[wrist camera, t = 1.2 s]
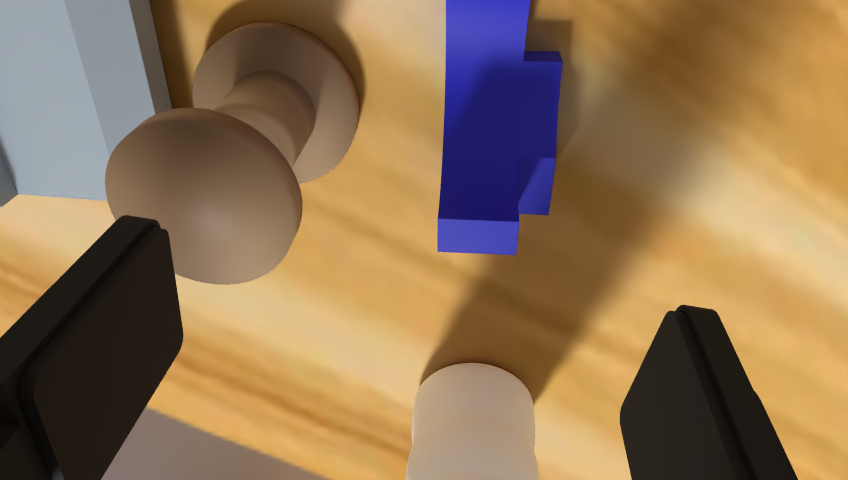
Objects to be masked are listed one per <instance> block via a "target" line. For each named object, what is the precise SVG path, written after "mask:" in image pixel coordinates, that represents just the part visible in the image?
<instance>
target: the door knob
mask: <svg viewBox="0 0 848 480" xmlns="http://www.w3.org/2000/svg"><path fill="white" fill-rule="evenodd" d="M192 98H193V106H194V108H177V109H170V110H167V111H163V112H160V113H158V114H156V115H153V116H151V117H149V118H148V119H147V120H145V121H144V122H142V123H141V124H140V125H138V126H137V127H136V128H135V129H134V130H133V131H131V132H130V133H129V134H128V135H127V136H125V137H124V138H123V139H122V140H121V141H120V142H119V143H118V145H117V146H116V147H115V149H114V150H113V152H112V154H111V156H110V158H109V160H108V163H107V167H106V172H105V190H106V196H107V200H108V204H109V206H110V209H111V212H112V214H113V216H114V218H115V220H117V219H118V218H120V217H121V216H123V215H130V216H136V217H142V218H149V219H155V220H157V221H158V222H159V224H160V227H161V228H162V229H166V230H167V231H168V234H169V238H170V245H171V252H172V259H173V266H174V273H176V274H178V275H180V276H183V277H186V278H189V279H192V280H195V281H199V282H204V283H211V284H226V285H227V284H239V283H244V282H248V281H251V280H254V279H257V278H259V277H261V276H263V275H265V274H267V273H268V272H270V271H271V270H273V269H274V268H275V267H276V266H277V265H278V264H279V263H280V262H281V261H282V260H283V258H284V257H285V256H286V254H287V252H288V250H289V248H290V246H291V244H292V242H293V240H294V238H295V235H296V233H297V231H298V229H299V226H300V222H301V217H302V196H301V190H300V187H299V183H305V182H309V181H312V180H315V179H317V178H320V177H321V176H323V175H325V174H327V173H328V172H330V171H331V170H332V169H334V168H335V167H336V166H337V165H338V164H339V163H340V162H341V160H342V159H343V158H344V156H345V155H346V153H347V151H348V149H349V147H350V145H351V143H352V140H353V138H354V135H355V133H356V130H357V126H358V120H359V101H358V95H357V91H356V87H355V85H354V82H353V79H352V77H351V75H350V73H349V71H348V69H347V68H346V66H345V65H344V63H343V62H342V60H341V59H340V58H339V57H338V55H337V54H336V53H335V52H334V51H333V50H332V49H331V48H330V47H329V46H328V45H327V44H326V43H324V42H323V41H322V40H320V39H319V38H317V37H316V36H315V35H313V34H311V33H309V32H307V31H306V30H303V29H301V28H298V27H296V26H293V25H289V24H285V23H280V22H272V21H266V22H255V23H249V24H246V25H243V26H240V27H238V28H236V29H234V30H232V31H230V32H229V33H227V34H226V35H225V36H223V37H222V38H221V39H219V40H218V41H217V42H215V43H214V44H213V45H212V46H211V47H210V48H209V49H208V50H207V51H206V53H205V54H204V55H203V57H202V58H201V60H200V62H199V64H198V66H197V69H196V72H195V75H194V80H193V86H192Z"/></svg>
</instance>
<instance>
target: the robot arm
mask: <svg viewBox="0 0 848 480" xmlns="http://www.w3.org/2000/svg"><path fill="white" fill-rule="evenodd" d="M182 342H183V328H182V321H181V314H180V307H179V300H178V293H177V287H176V280H175V273H174V266H173V259H172V252H171V245H170V238H169V234H168V231H167V230H166V229H162V228H161V227H160V224H159V222H158V221H157V220H155V219H149V218H142V217H136V216H130V215H123V216H121V217H120V218H118V219H117V220H116V221H115V222H114V223H113V225H112V226H111V227H110V228H109V229H108V230H107V231H106V232H105V233H104V234H103V235H102V236H101V237H100V238H99V239H98V240H97V241H96V242H95V243H94V244H93V245H92V246H91V247H90V248H89V249H88V250H87V251H86V252H85V253H84V254H83V255H82V256H81V257H80V258H79V259H78V260H77V261H76V262H75V263H74V264H73V265H72V266H71V267H70V268H69V269H68V270H67V271H66V272H65V273H64V274H63V275H62V276H61V277H60V278H59V279H58V280H57V281H56V282H55V283H54V284H53V285H52V286H51V287H50V288H49V289H48V290H47V291H46V292H45V293H44V294H43V295H42V296H41V297H40V298H39V299H38V300H37V301H36V302H35V303H34V304H33V305H32V306H31V307H30V308H29V309H28V310H27V311H26V312H25V313H24V314H23V315H22V316H21V317H20V318H19V319H18V320H17V321H16V323H15V324H14V325H13V326H12V327H11V328H10V329H9V330H8V331H7V332H6V333H5V334H4V335H3V336H2V337H1V338H0V480H101V478H102V477H103V475H104V473H105V472H106V470H107V469H108V467H109V465H110V464H111V462H112V461H113V459H114V457H115V456H116V454H117V452H118V451H119V449H120V447H121V446H122V444H123V442H124V441H125V439H126V438H127V436H128V434H129V433H130V431H131V429H132V428H133V426H134V425H135V423H136V421H137V420H138V418H139V416H140V415H141V413H142V412H143V410H144V408H145V407H146V405H147V403H148V402H149V400H150V399H151V397H152V395H153V394H154V392H155V390H156V389H157V387H158V386H159V384H160V382H161V381H162V379H163V377H164V376H165V374H166V372H167V371H168V369H169V368H170V366H171V364H172V363H173V361H174V359H175V358H176V356H177V355H178V353H179V351H180V349H181V346H182ZM620 426H621V431H622V435H623V440H624V445H625V449H626V454H627V459H628V463H629V468H630V473H631V478H632V480H798V478H797V476H796V474H795V472H794V470H793V468H792V466H791V464H790V461H789V459H788V457H787V455H786V453H785V451H784V449H783V447H782V444H781V442H780V440H779V438H778V436H777V434H776V432H775V430H774V427H773V425H772V423H771V421H770V419H769V417H768V415H767V413H766V411H765V408H764V406H763V404H762V402H761V400H760V398H759V397H758V395H757V394H756V392H755V391H754V390H753V388H752V386H751V384H750V382H749V379H748V377H747V375H746V373H745V371H744V369H743V367H742V364H741V362H740V360H739V358H738V356H737V354H736V352H735V349H734V347H733V345H732V343H731V341H730V339H729V337H728V334H727V332H726V330H725V328H724V326H723V324H722V322H721V319H720V317H719V315H718V314H717V312H716V311H714V310H712V309H706V308H700V307H694V306H688V305H680V306H679V307H678V308H677V309H676V311H669V312H667V313H666V315H665V317H664V319H663V321H662V323H661V325H660V327H659V329H658V331H657V333H656V335H655V337H654V340H653V342H652V344H651V346H650V348H649V350H648V352H647V354H646V356H645V358H644V360H643V362H642V365H641V367H640V369H639V371H638V373H637V375H636V377H635V379H634V381H633V383H632V385H631V388H630V390H629V392H628V394H627V396H626V398H625V400H624V402H623V404H622V407H621V411H620Z"/></svg>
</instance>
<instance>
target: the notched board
mask: <svg viewBox="0 0 848 480" xmlns="http://www.w3.org/2000/svg"><path fill="white" fill-rule="evenodd" d="M170 109H172V105H171V100H170V96H169V91H168V86H167V82H166V77H165V72H164V68H163V63H162V58H161V54H160V49H159V44H158V40H157V35H156V30H155V26H154V21H153V16H152V12H151V7H150V3H149V0H0V207H2V206H4V205H5V204H6V203H7V202H9V201H10V200H11V199H13V198H14V197H15V196H16V195H18V194H22V195H36V196H49V197H62V198H76V199H89V200H102V201H108V200H107V196H106V190H105V172H106V167H107V163H108V160H109V158H110V156H111V154H112V152H113V150H114V149H115V147H116V146H117V145H118V143H119V142H120V141H121V140H122V139H123V138H124V137H125V136H127V135H128V134H129V133H130V132H131V131H133V130H134V129H135V128H136V127H137V126H138V125H140V124H141V123H142V122H144V121H145V120H147V119H148V118H149V117H151V116H153V115H156V114H158V113H160V112H163V111H167V110H170Z"/></svg>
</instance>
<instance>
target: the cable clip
mask: <svg viewBox="0 0 848 480" xmlns="http://www.w3.org/2000/svg"><path fill="white" fill-rule="evenodd" d="M530 1H531V0H446V80H445V114H444V138H443V158H442V175H441V190H440V202H439V213H438V252H457V253H480V254H503V255H516V250H517V240H518V230H519V214H535V215H549V208H550V200H551V193H552V185H553V178H554V170H555V163H556V139H557V117H558V103H559V91H560V81H561V72H562V63H563V62H562V59H561V56H560V53H559V52H542V51H524V50H525V40H526V31H527V23H528V15H529V8H530Z"/></svg>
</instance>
